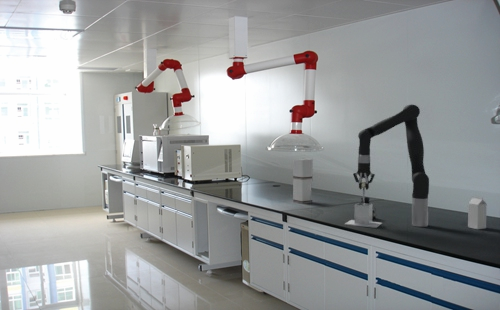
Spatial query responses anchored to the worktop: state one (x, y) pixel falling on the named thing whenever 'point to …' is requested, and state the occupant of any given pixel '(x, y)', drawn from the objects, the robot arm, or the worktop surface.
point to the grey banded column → (302, 180)
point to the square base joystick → (363, 214)
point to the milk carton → (477, 213)
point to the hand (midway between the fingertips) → (363, 189)
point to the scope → (368, 203)
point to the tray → (373, 224)
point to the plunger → (363, 185)
